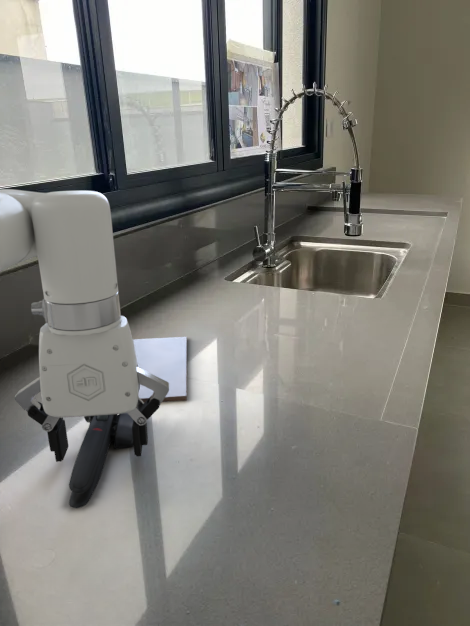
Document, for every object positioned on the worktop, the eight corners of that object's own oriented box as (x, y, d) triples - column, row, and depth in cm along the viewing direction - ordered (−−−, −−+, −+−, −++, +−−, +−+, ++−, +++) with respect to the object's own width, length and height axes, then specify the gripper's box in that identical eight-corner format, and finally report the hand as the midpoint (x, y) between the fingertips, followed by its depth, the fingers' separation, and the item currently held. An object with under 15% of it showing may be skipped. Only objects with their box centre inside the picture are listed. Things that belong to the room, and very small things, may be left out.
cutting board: (59, 413, 70) (58, 403, 70) (90, 348, 93) (89, 341, 92) (187, 405, 72) (186, 396, 71) (187, 343, 94) (186, 336, 94)
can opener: (96, 424, 67) (91, 386, 65) (146, 424, 67) (143, 386, 65) (42, 516, 50) (34, 469, 49) (110, 517, 50) (104, 469, 48)
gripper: (-15, 326, 48) (13, 477, 54) (164, 318, 50) (174, 466, 55) (11, 304, 55) (34, 439, 61) (167, 297, 57) (176, 430, 62)
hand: (101, 451), depth 58 cm, fingers open, 8 cm apart
